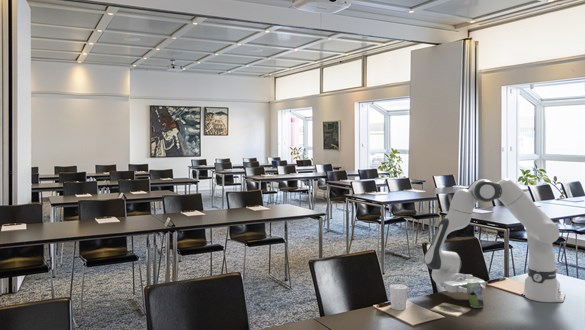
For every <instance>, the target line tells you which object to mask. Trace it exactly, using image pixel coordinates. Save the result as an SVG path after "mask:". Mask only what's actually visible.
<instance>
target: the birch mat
mask: <svg viewBox="0 0 585 330" xmlns="http://www.w3.org/2000/svg"><path fill="white" fill-rule="evenodd" d="M471 309H472V308H469V307H464V306H460V305H456V304H453V303H452V304H451V303H447V302H442V303H440V304H438V305H435V306H434V307H431V308H430V309H429V310H430V311H432V312H435V313H439V314H444V315H447V316H451V317H455V318H459V317H461V316H463V315H464V314H466V313H468V312H470V311H472V310H471Z"/></svg>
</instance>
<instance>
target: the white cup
mask: <svg viewBox="0 0 585 330" xmlns="http://www.w3.org/2000/svg"><path fill="white" fill-rule="evenodd" d="M389 297H390V308H391V309H392V310H395V311H404V310H406V309H407V301H408V300H407V298H408V286H407V285H405V284H399V283H394V284H390V285H389Z"/></svg>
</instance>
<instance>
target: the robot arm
mask: <svg viewBox="0 0 585 330" xmlns="http://www.w3.org/2000/svg"><path fill="white" fill-rule="evenodd" d="M452 196H453V197H452V198H451V200H450V201H451V202H450V203H449V204H450V205H449V208H448V211H447V213H446V214H445V217H444V218H441V220H440V222H439V223H438V225H437V227H436V230H435V232H434V235H433V238H432V240H431V242H430V245H429V247H428V249H427V251H426V252H425V255H424V257H423V258H424V263H425V265H426V266H427V267H428V269H430V270H432V271H431V277H432V280H433V281H434V282H435V283H436V284H437V285H439V286H440V287H442V288H443V289H444V290H445V291H446V292H448V293H452V294H453V293H454V294H455V293H465V294H466V293H467V294H468V289H467V282H468V281H472V280H476V281H479V283H480V285H481V291H482V292H483V291H484V292H485V291H486V281H485V280H484V279H481V278H479V277H476V276H473V274H469V273H468V274H465V273H460V271H461V269H462V260H461V257H460V255H459V254H458V253H457V252H455V251H451V250H442V249H443V246H444V243H445V241H446V238H447V236H448V235H449V234H450V233H452V232H454V231H457V230H458V231H459V230H461V229H462V230H463V229H464V228H466V227H467V226H469V225H470V223H471V220H472V216H473V211H474V208H475V205H476V204H477V203H479V202H482V203H483V202H484V203H489V202H493V201H495V200H497V199H498V200H499V201H500V202H501V203H502V205H503V206H504V207H505V208H506V209H507V210H508V211H509V212H510V213H511V214H512V215H513V216H514V218H515V219H517V221H518V222H519V223H520V224H521V225H522V226H523V227H524V228H525V230H526V239H527V246H528V264H529V265H528V268H527V275H528V276H527V277H526V278H525V279H524V284H523V285H524V288H523V291H521V292H520V294H521V293H522V294H523V295H522V296H524V295H525V296H524V297H525V298H527V299H529V300H531V301H535V302H541V303H563V302H564V301H565V298H564V297H566V293H565V292H563V291H561V283H560V282H559V280H558V279H557V273H558V271H557V268H555V267H556V266H555V263H556V262H555V257H556V255H555V251H554V247H553V243H554V242H556V241H557V240H558V239H559V237H560V233H561V232H560V229H559V227H558V226H557V224H556V223H555V222H554V221H553V220H552V219H551V218H550V217H549V216H548V215H547V214H546V213H545V212H544V211H543V210H542V209H541V208H540V207H538V206H537V205H536V204H535V202H533V200H532V199H531V198H530V197H529V196H528V195H527V194H526V193H525V191H524V190H522V188H521V187H520V186H519V185H517V183H515V182H513V180H511V179H510V178H503V179H500V180H498V181H497V182H495V181H492V180H489V179H485V178H482V179H481V178H479V179H475V180H474V181H473V182H472V183H471V184H469V186H468V187H467V188H460V189H457V190H456V191H455V192H454V194H453V195H452Z"/></svg>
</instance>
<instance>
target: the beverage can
mask: <svg viewBox="0 0 585 330" xmlns="http://www.w3.org/2000/svg"><path fill="white" fill-rule="evenodd" d="M467 289H468V293H467V296H468V302H469V306H470V307H472V308H473V309H480V308H483V306H484V299H483V291H482V290H481V285H480V283H479V281H476V280H472V281H468V282H467Z"/></svg>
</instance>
